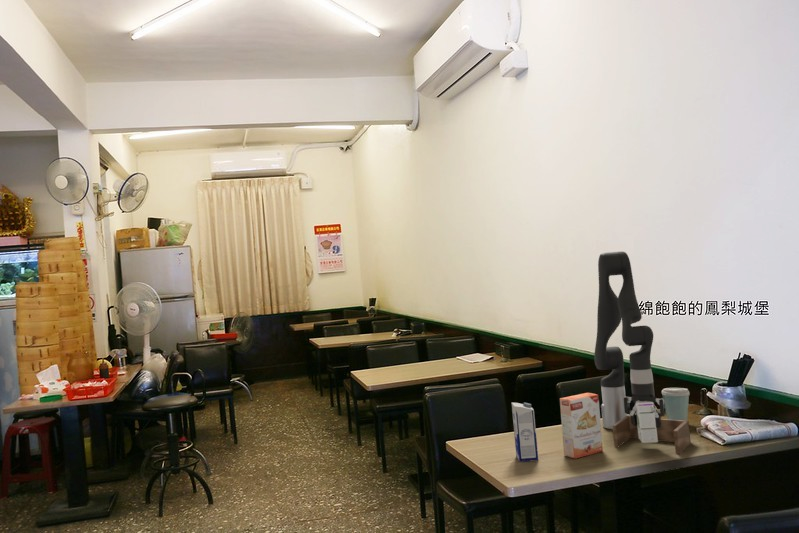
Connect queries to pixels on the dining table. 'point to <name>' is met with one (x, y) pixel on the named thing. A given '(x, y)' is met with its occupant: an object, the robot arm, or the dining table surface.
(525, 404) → the milk carton
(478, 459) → the dining table surface
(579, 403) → the cracker box
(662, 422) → the wooden u-shaped bracket
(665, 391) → the disposable coffee cup
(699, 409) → the dining table surface
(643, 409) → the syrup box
